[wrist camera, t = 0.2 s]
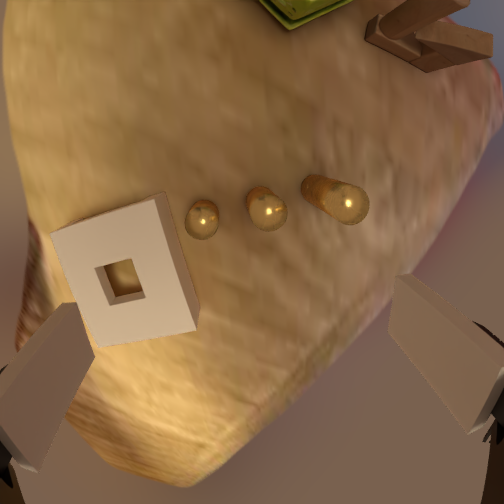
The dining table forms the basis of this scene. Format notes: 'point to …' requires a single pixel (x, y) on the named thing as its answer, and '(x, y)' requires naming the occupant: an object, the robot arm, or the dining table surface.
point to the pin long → (336, 198)
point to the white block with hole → (146, 265)
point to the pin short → (202, 220)
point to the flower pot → (300, 10)
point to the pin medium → (266, 209)
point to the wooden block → (429, 35)
